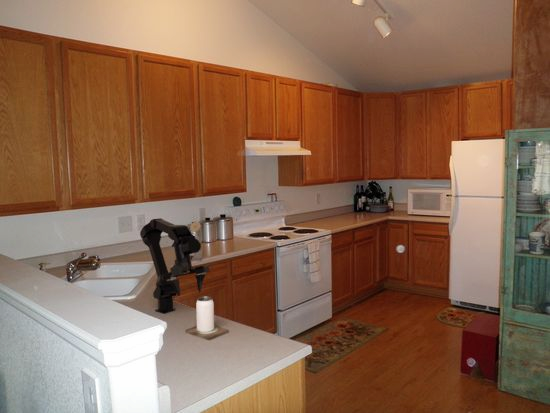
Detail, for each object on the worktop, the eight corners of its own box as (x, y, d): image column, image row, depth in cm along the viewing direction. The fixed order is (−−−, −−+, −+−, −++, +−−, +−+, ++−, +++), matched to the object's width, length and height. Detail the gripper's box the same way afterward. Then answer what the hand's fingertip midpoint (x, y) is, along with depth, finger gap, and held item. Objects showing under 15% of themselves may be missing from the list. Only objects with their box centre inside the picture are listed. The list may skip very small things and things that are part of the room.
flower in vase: (183, 256, 317) (182, 221, 315) (195, 253, 326) (194, 219, 323) (194, 258, 309) (194, 222, 306) (207, 255, 317) (206, 221, 315)
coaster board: (185, 332, 168) (185, 329, 168) (205, 325, 176) (205, 322, 176) (209, 340, 160) (209, 337, 160) (228, 332, 168) (228, 329, 168)
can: (211, 325, 172) (211, 295, 171) (216, 331, 166) (215, 299, 165) (195, 327, 170) (194, 297, 169) (198, 333, 164) (198, 302, 163)
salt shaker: (193, 259, 304) (192, 241, 302) (201, 259, 306) (200, 240, 305) (194, 261, 298) (194, 242, 297) (203, 260, 300) (202, 241, 299)
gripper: (152, 261, 175) (158, 300, 174) (195, 252, 171) (201, 293, 169) (166, 259, 186) (172, 296, 184) (206, 251, 182) (213, 289, 180)
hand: (189, 294), depth 179 cm, fingers open, 9 cm apart
